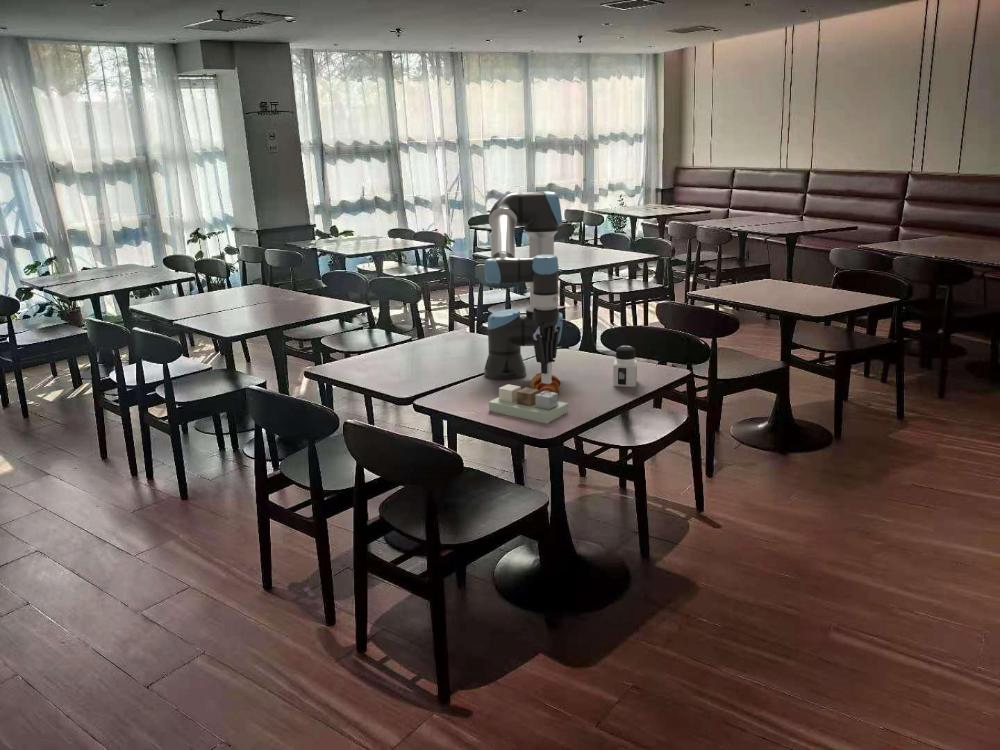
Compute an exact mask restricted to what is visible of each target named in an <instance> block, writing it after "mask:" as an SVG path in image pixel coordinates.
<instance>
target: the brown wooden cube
mask: <svg viewBox="0 0 1000 750" xmlns="http://www.w3.org/2000/svg"><path fill="white" fill-rule="evenodd" d="M536 394H539V390H537V389H532V388H530V387H524V388H521V390H519V391H517V404H521V405H525V406H530V407H531V406H533V405H535V404H536V403H535V395H536Z"/></svg>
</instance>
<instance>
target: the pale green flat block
mask: <svg viewBox="0 0 1000 750" xmlns="http://www.w3.org/2000/svg"><path fill="white" fill-rule="evenodd" d="M488 411H489V412H492V413H493V412H494V413H498V414H502V415H507V416H511V417H515V418H521V419H525V420H529V421H534V422H538V423H542V424H549V423H551V422H553V421H555V420H556V418H557V419H558V418H561V417H562V416H564V415H566V414H567V412H568V413H569V403H568V402H562V401H559V400H558V406H557V407H555V408H553V409H552V410H550V411H549V410H544V409H540V408H536V404H535V405H533V406H531V407H530V406H525V405H521V404H517V401H515V402H513V403H511V402H506V401H502V400H499V396H498V397H496V398H494V399H491V400H490V401H488ZM565 413H566V414H565ZM563 414H564V415H563ZM561 415H562V416H561ZM554 419H555V420H554ZM552 420H553V421H552ZM550 421H551V422H550Z"/></svg>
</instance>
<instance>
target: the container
mask: <svg viewBox="0 0 1000 750" xmlns="http://www.w3.org/2000/svg"><path fill="white" fill-rule="evenodd" d="M612 367H613V368H612V369H613V370H612V371H613V373H612V376H613V377H612V378H613V380H612V386H613V387H630V388H636V386H637V379H638V375H637V374H638V360H637V359H636V348H635V347H633V346H630V345H621V346H618V347H617V348H615V359H614V361H613V366H612Z"/></svg>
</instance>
